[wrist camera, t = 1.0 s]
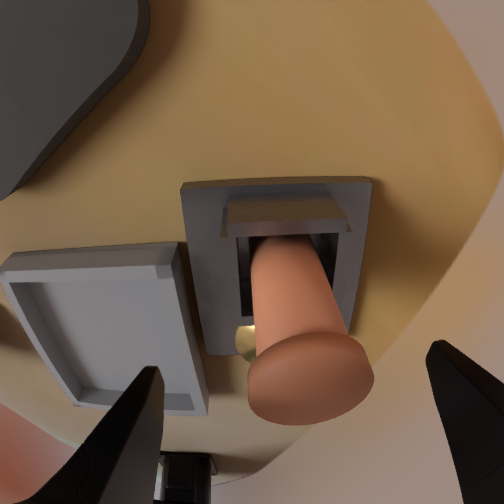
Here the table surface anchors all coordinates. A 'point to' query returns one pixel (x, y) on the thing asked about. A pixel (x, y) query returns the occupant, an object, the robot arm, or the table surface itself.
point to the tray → (110, 321)
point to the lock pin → (300, 338)
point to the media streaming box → (58, 72)
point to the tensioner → (266, 224)
